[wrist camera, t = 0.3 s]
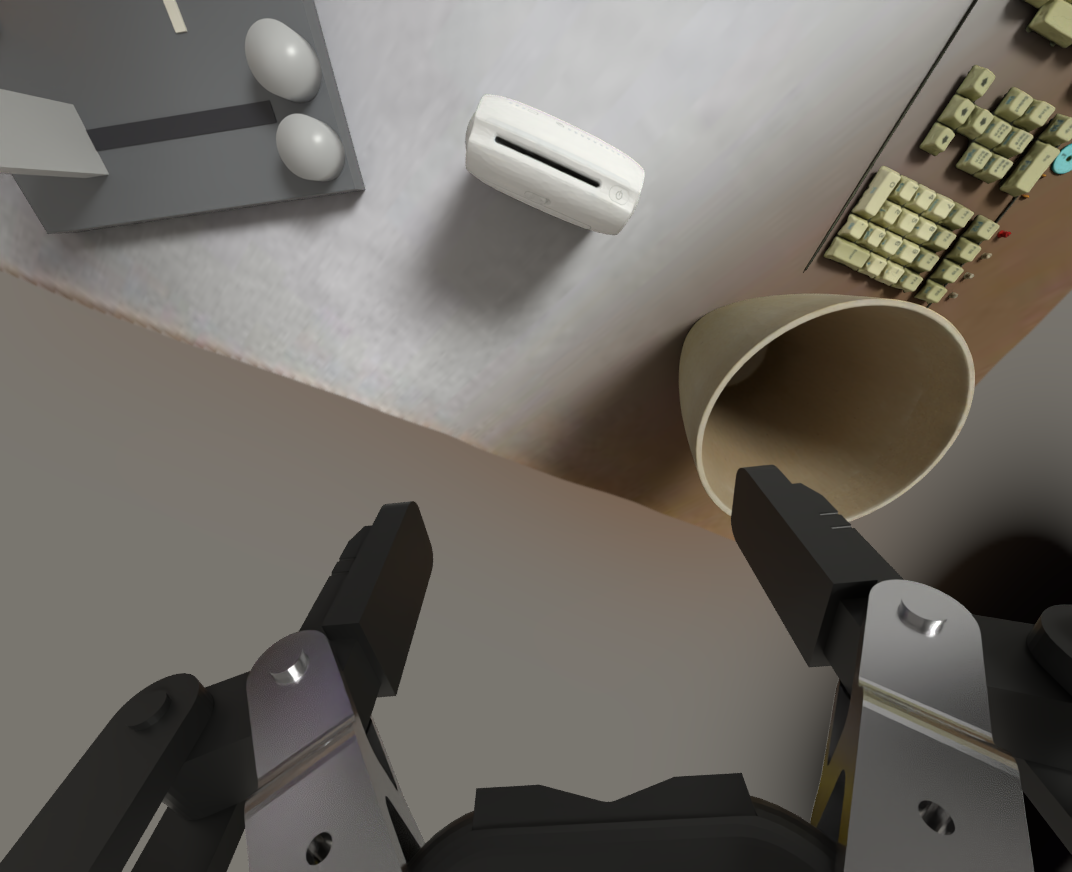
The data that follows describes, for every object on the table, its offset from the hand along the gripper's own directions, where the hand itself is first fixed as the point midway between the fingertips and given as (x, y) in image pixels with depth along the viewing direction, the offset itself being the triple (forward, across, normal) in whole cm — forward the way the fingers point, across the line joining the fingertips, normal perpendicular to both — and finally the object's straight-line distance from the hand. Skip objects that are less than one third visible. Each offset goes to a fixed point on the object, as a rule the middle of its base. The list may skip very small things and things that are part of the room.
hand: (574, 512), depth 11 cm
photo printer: (+29, -1, -8) cm, 30 cm away
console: (+29, +25, -18) cm, 42 cm away
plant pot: (+29, -15, +7) cm, 33 cm away
